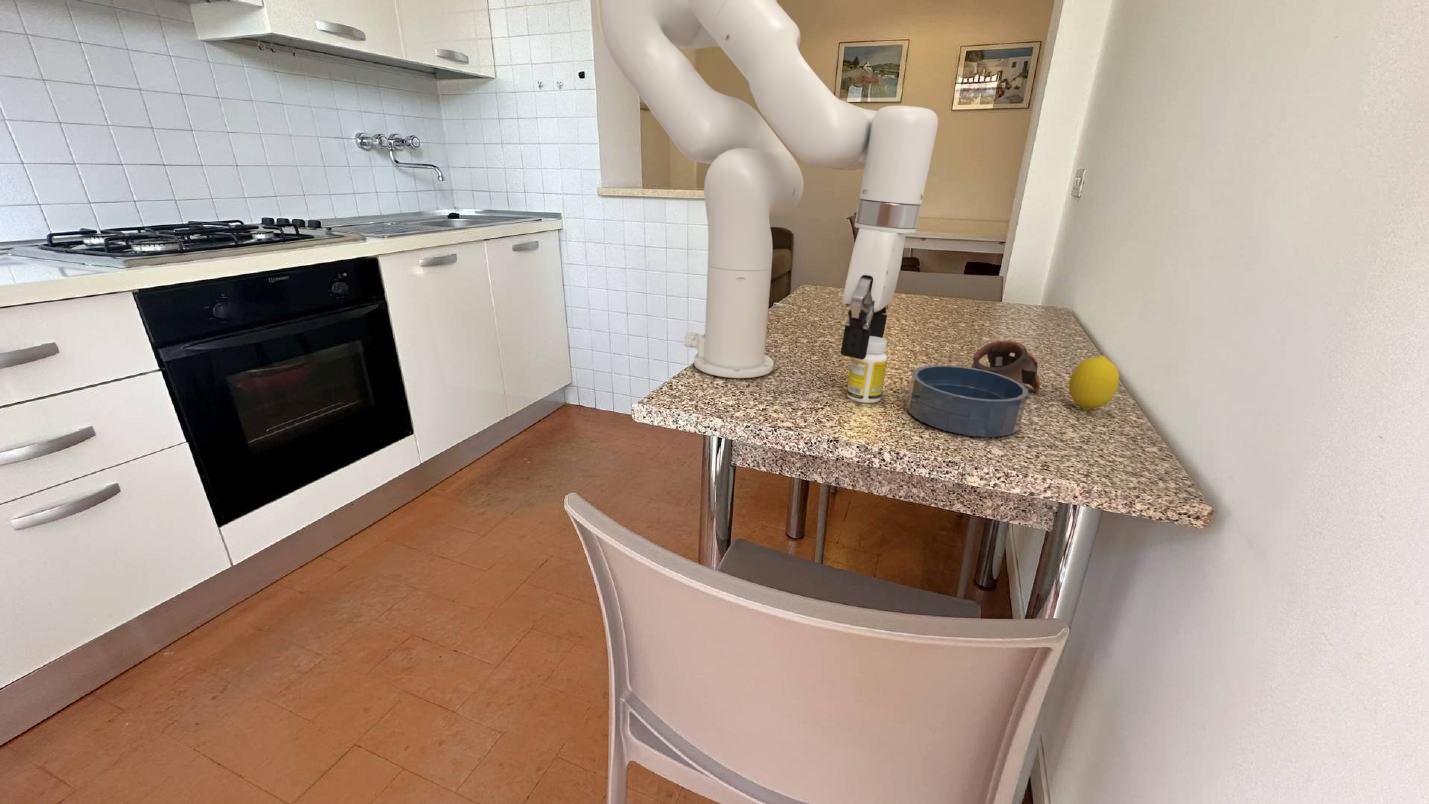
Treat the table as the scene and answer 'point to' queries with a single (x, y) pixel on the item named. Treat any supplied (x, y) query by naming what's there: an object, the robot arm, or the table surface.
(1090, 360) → the lemon
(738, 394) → the table surface
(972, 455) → the table surface
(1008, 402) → the bowl
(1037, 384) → the pottery mug
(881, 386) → the supplement bottle
